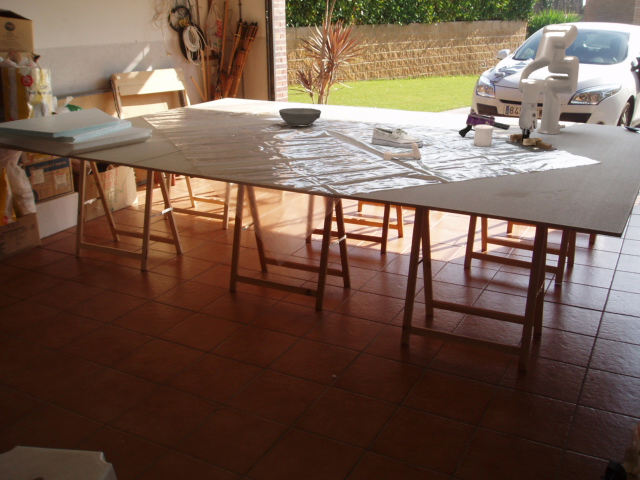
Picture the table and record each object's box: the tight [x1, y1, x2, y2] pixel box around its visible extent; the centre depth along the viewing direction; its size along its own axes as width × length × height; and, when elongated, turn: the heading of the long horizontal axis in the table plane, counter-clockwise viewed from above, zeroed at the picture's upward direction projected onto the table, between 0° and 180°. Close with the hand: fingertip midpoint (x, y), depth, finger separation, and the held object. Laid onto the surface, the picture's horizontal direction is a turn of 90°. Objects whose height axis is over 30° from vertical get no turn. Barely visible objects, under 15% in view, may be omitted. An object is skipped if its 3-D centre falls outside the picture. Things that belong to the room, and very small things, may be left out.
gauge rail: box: [509, 133, 553, 149], centre depth 305 cm, size 10×26×5 cm, turn 16°
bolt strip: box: [505, 139, 558, 154], centre depth 305 cm, size 13×26×1 cm, turn 16°
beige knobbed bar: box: [383, 142, 422, 161], centre depth 284 cm, size 4×18×10 cm, turn 91°
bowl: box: [278, 107, 322, 126], centre depth 370 cm, size 26×26×10 cm
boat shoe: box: [371, 126, 424, 149], centre depth 312 cm, size 11×29×10 cm, turn 66°
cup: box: [473, 125, 494, 147], centre depth 309 cm, size 10×10×10 cm
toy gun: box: [458, 111, 511, 138], centre depth 326 cm, size 3×26×15 cm, turn 78°
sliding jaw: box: [523, 137, 543, 145], centre depth 303 cm, size 10×3×3 cm, turn 106°
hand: (525, 141), depth 306 cm, fingers closed
